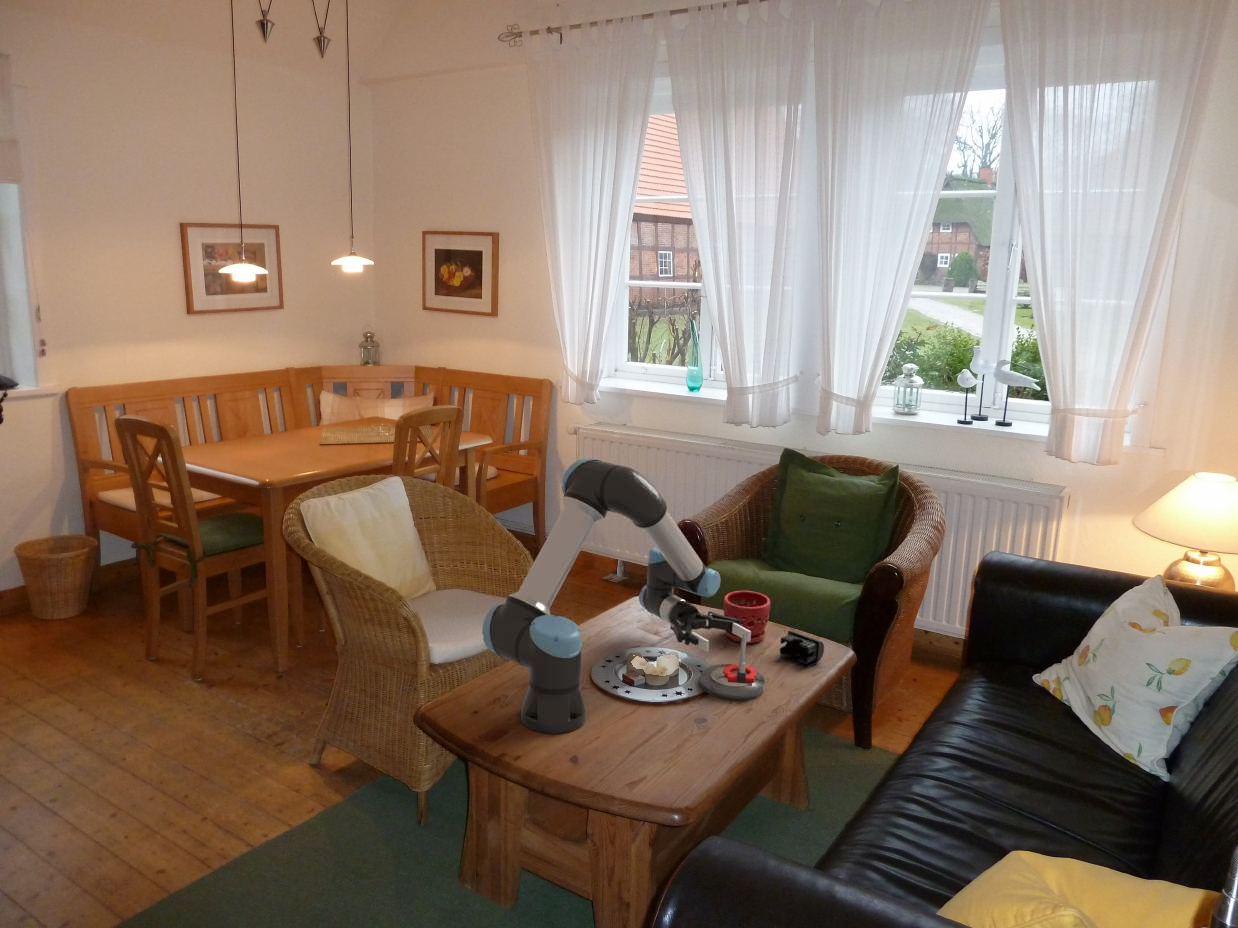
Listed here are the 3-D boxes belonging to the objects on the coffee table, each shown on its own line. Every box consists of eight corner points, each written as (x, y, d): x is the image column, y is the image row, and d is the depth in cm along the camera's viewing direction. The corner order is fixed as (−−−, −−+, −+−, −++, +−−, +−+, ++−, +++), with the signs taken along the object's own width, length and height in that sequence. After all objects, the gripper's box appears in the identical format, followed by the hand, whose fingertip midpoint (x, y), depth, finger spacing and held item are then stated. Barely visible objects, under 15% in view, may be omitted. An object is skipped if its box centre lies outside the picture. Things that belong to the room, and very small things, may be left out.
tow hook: (722, 667, 250) (724, 681, 241) (725, 620, 248) (727, 632, 239) (754, 670, 250) (757, 684, 241) (758, 622, 248) (761, 634, 239)
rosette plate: (705, 700, 237) (705, 689, 237) (696, 672, 253) (697, 662, 252) (769, 701, 238) (770, 690, 238) (757, 673, 254) (757, 663, 253)
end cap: (823, 662, 263) (825, 638, 261) (808, 669, 258) (810, 645, 256) (792, 650, 270) (794, 627, 268) (777, 657, 265) (779, 634, 263)
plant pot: (717, 628, 283) (719, 590, 280) (761, 628, 284) (764, 589, 282) (726, 646, 270) (729, 606, 267) (772, 646, 272) (776, 606, 269)
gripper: (715, 618, 270) (765, 645, 253) (641, 634, 257) (688, 664, 240) (716, 593, 269) (767, 618, 251) (642, 607, 255) (690, 636, 238)
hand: (729, 641), depth 245 cm, fingers open, 13 cm apart
